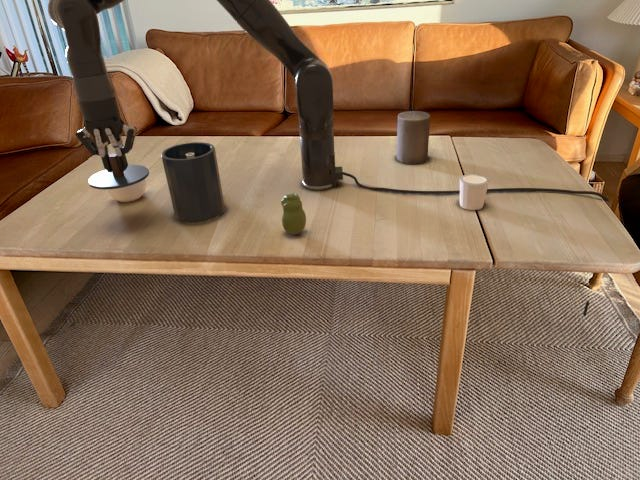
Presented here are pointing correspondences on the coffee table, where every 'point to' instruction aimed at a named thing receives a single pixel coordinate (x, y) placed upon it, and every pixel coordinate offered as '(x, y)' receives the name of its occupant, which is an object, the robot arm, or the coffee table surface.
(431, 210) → the coffee table surface
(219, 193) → the canister
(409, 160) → the pillar candle
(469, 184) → the white cylinder
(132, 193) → the trinket box
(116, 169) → the lid
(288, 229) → the green figurine
